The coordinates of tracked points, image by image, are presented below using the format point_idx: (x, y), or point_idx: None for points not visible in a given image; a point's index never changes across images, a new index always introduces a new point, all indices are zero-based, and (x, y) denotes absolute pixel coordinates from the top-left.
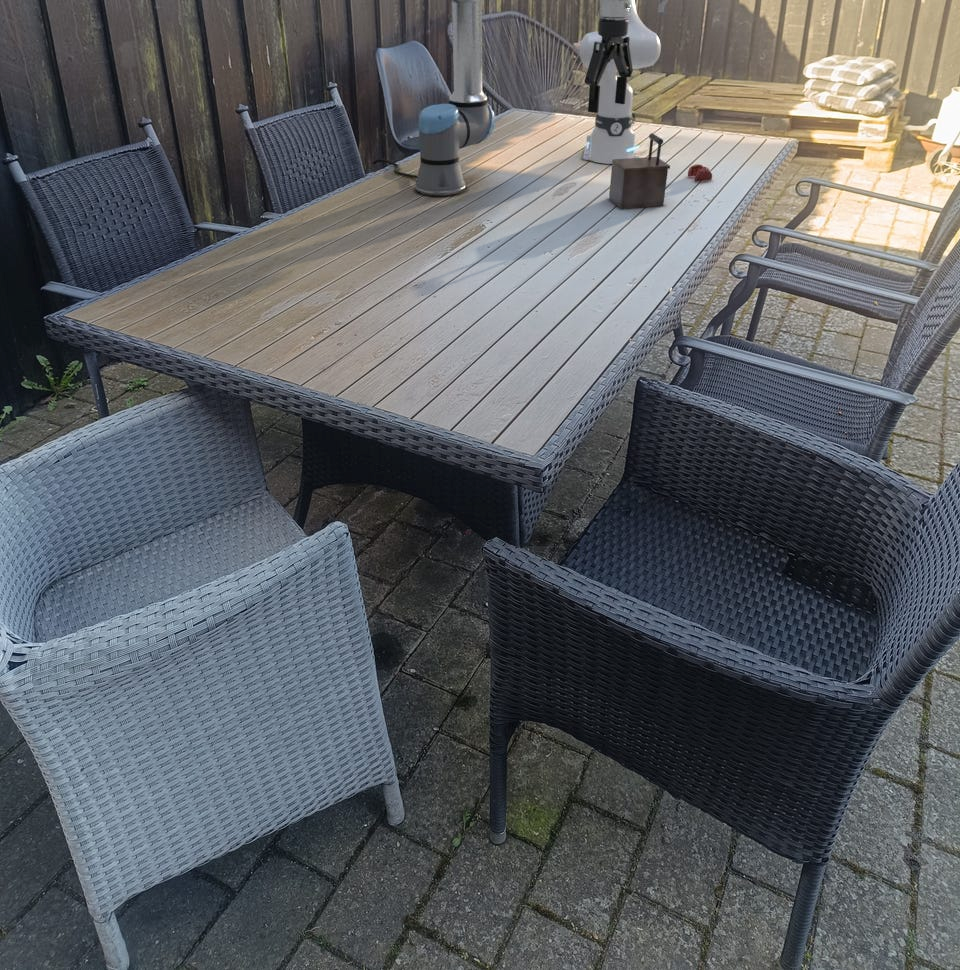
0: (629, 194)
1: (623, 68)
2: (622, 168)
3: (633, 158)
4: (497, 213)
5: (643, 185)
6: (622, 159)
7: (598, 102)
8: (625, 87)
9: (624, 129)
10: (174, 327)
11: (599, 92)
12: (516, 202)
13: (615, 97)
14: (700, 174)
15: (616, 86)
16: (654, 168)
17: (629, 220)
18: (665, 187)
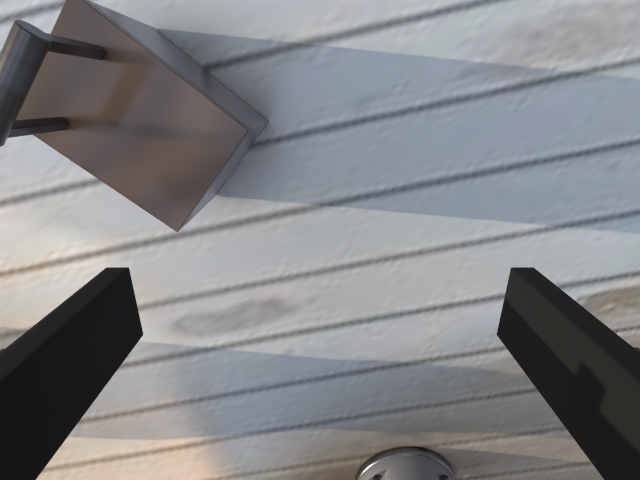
0: (243, 107)
1: None
2: (236, 148)
3: (107, 179)
4: (478, 331)
5: (196, 75)
6: (151, 204)
7: (564, 308)
8: (25, 348)
9: None
10: None
11: (628, 370)
12: (386, 343)
13: (122, 360)
14: None
15: (69, 432)
16: (140, 43)
17: (340, 42)
18: (126, 16)
